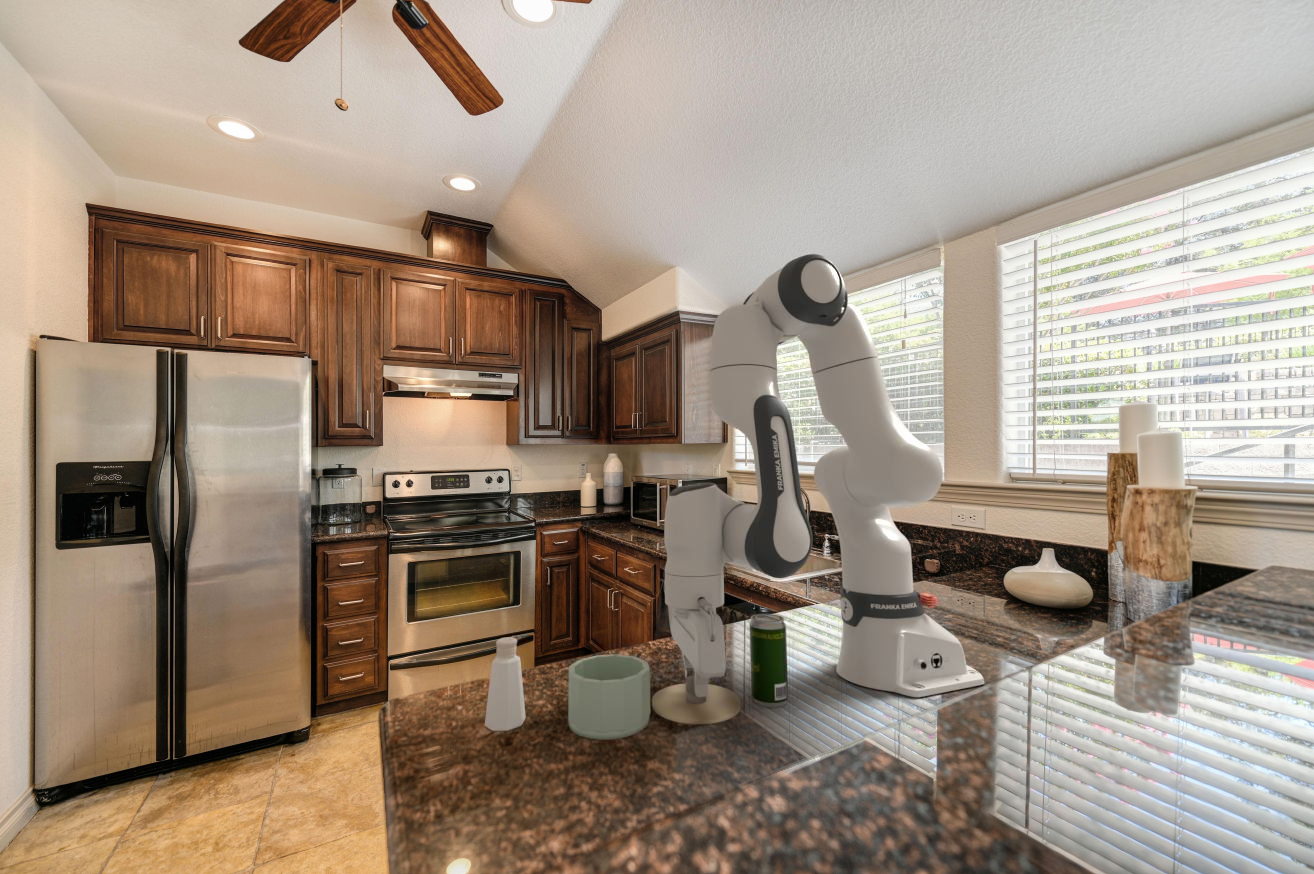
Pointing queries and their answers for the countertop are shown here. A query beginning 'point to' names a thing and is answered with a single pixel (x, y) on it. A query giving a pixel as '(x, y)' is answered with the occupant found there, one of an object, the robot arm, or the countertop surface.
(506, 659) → the pepper shaker
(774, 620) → the beer can
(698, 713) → the lid
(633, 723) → the pale green pot
